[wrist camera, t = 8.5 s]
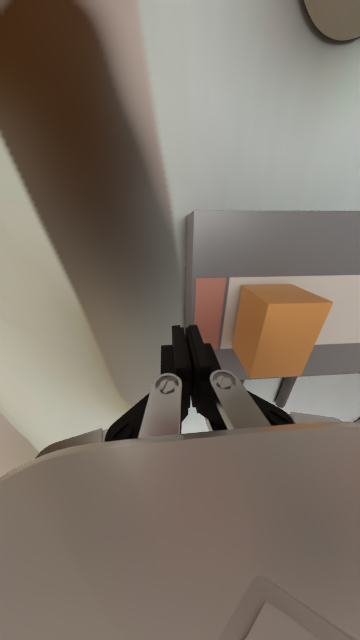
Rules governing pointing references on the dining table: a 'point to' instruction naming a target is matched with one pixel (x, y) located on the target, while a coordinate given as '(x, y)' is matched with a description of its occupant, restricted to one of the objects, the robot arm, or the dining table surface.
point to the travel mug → (336, 17)
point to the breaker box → (275, 278)
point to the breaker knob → (277, 328)
